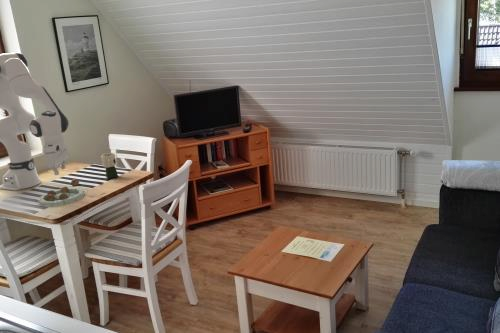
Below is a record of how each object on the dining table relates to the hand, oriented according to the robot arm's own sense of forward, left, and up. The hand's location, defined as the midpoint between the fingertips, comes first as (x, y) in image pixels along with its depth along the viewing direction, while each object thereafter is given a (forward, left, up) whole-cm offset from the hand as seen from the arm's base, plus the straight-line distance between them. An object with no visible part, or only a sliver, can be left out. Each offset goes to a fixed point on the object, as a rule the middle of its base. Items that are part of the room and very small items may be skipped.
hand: (60, 171), depth 256 cm
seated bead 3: (+7, -9, -12) cm, 17 cm away
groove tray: (+3, -6, -13) cm, 14 cm away
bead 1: (0, 0, -12) cm, 12 cm away
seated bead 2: (+1, -11, -12) cm, 16 cm away
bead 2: (-4, +14, -13) cm, 19 cm away
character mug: (+9, +28, -13) cm, 32 cm away
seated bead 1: (-3, -6, -12) cm, 14 cm away
